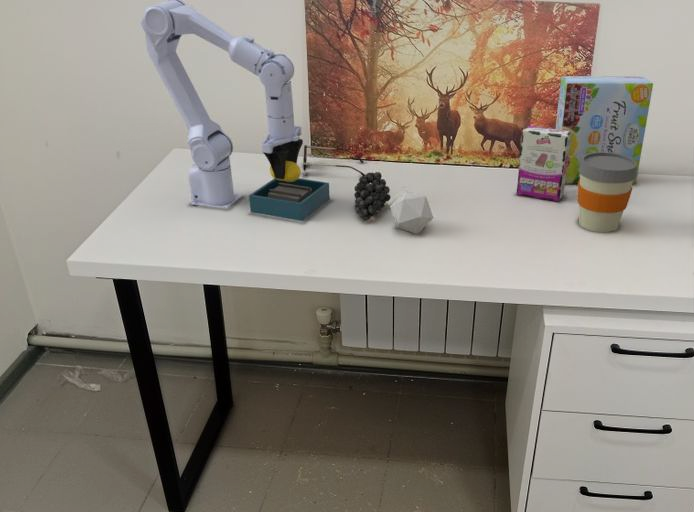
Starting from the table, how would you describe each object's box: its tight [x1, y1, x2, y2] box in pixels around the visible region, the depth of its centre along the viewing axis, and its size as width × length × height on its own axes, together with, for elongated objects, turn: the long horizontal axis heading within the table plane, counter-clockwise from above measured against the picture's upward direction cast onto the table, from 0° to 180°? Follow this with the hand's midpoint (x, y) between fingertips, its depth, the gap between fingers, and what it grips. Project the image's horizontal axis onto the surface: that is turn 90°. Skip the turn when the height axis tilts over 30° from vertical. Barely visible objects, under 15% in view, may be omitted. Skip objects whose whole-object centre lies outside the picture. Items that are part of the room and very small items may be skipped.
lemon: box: [269, 161, 302, 182], centre depth 167 cm, size 8×5×5 cm, turn 70°
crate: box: [248, 177, 331, 222], centre depth 172 cm, size 13×14×5 cm
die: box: [389, 190, 434, 235], centre depth 162 cm, size 8×9×10 cm
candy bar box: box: [516, 125, 572, 202], centre depth 179 cm, size 11×5×16 cm, turn 68°
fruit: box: [354, 171, 391, 221], centre depth 169 cm, size 9×8×15 cm
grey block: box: [268, 183, 312, 203], centre depth 172 cm, size 8×7×4 cm
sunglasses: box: [302, 144, 366, 177], centre depth 194 cm, size 14×16×5 cm
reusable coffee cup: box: [577, 152, 637, 233], centre depth 165 cm, size 13×13×15 cm
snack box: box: [555, 75, 654, 185], centre depth 187 cm, size 22×9×26 cm, turn 92°
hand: (285, 174), depth 168 cm, fingers closed on lemon, 4 cm apart
